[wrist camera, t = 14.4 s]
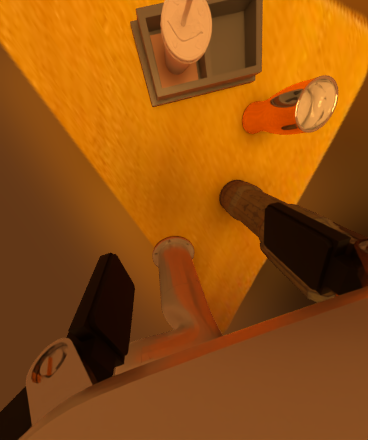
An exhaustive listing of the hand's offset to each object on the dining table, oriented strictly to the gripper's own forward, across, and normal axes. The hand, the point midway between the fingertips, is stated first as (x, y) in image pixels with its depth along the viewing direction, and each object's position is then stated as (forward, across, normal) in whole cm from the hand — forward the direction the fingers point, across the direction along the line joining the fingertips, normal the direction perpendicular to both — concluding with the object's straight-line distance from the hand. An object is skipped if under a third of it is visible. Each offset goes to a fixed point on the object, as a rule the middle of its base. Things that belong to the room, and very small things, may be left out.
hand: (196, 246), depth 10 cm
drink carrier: (+30, -12, -17) cm, 37 cm away
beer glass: (+31, -23, -5) cm, 39 cm away
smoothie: (+29, -8, -17) cm, 35 cm away
